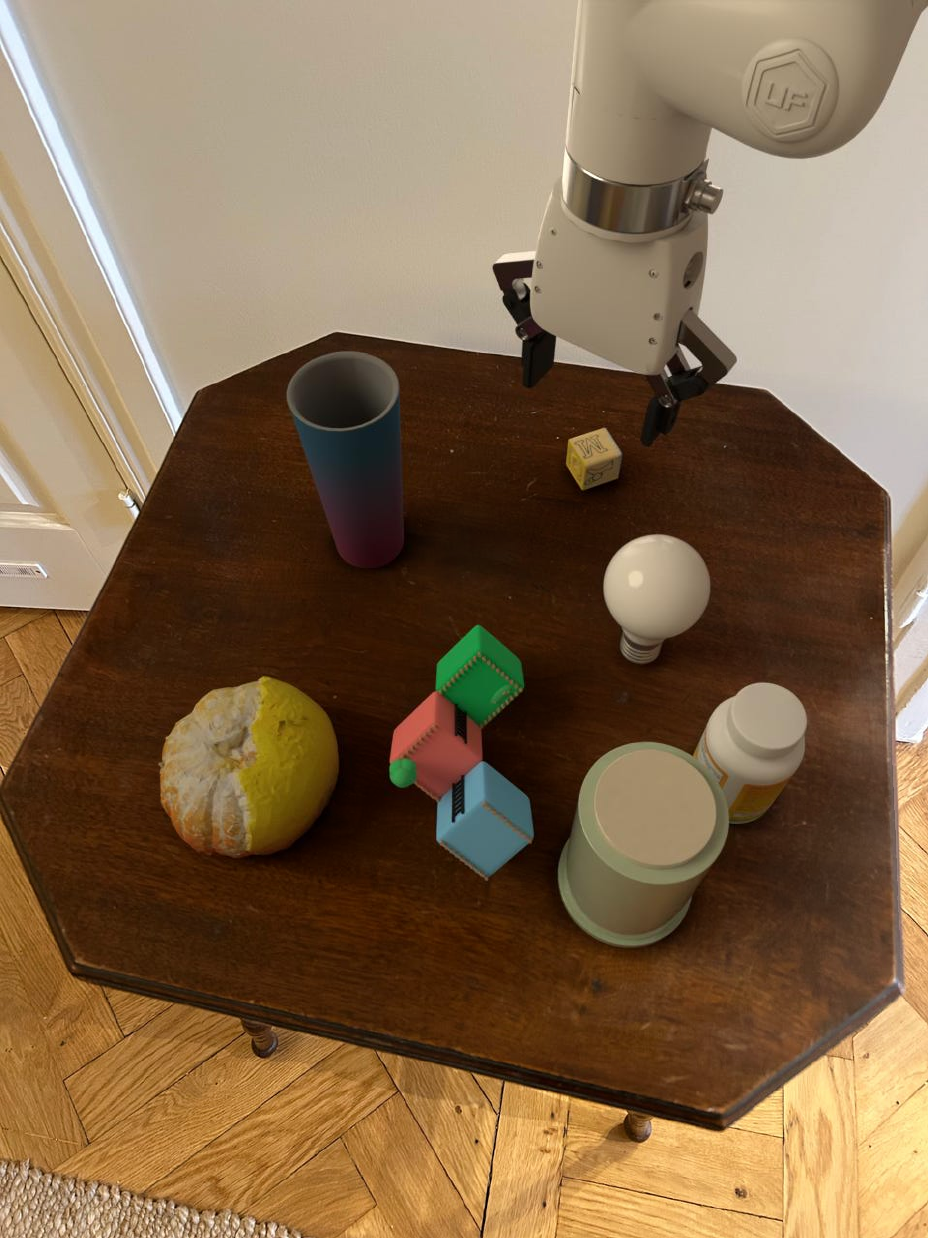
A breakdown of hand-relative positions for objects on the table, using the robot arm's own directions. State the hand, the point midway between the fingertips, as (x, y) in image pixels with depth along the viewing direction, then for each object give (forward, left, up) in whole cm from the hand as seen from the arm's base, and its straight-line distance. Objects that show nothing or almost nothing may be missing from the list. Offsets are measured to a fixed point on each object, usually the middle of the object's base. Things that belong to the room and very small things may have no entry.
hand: (594, 404), depth 64 cm
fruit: (+4, +34, -7) cm, 35 cm away
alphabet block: (0, 0, -7) cm, 7 cm away
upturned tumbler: (-18, +26, -7) cm, 33 cm away
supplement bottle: (-21, +17, -7) cm, 28 cm away
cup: (+10, +15, -7) cm, 19 cm away
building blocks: (-8, +25, -7) cm, 27 cm away
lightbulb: (-11, +12, -7) cm, 18 cm away
